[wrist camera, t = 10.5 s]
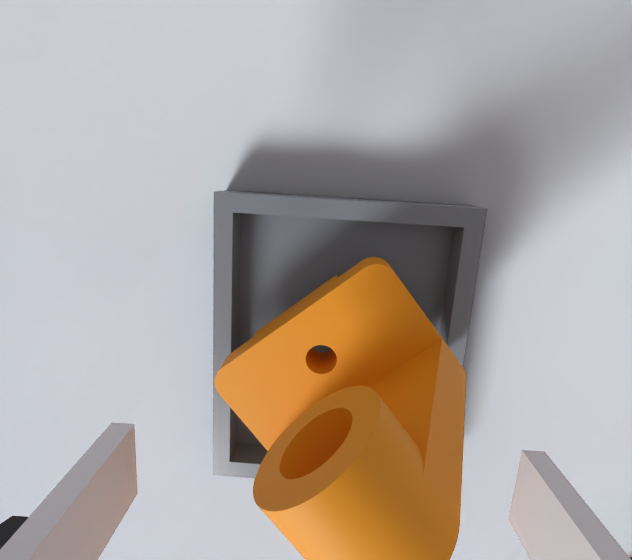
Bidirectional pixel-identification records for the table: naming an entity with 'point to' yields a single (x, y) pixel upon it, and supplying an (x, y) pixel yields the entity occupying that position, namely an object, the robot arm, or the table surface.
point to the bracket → (354, 421)
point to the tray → (328, 275)
